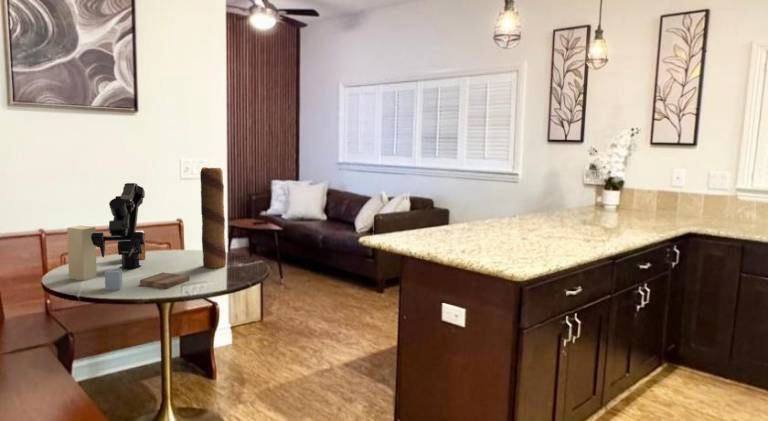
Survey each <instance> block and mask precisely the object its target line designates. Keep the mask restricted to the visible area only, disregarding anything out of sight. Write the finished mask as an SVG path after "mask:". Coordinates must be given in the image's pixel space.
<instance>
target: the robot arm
mask: <svg viewBox="0 0 768 421" xmlns="http://www.w3.org/2000/svg"><path fill="white" fill-rule="evenodd" d="M145 196H146V194H145V190H144V187H143V186H140V185H138V183H136V182H125V183H124V187H123V191H122V193H121V194H120V195H115V197H114V198H113V199H111V200H110V201H109V204H108V205H109V209H110V212H111V215H112V216H113V220H108V221H109V222H108V230H109V234H110V235H104V232H103V231H102V232H96V233H92V234H91V240H92V242H93V245H95V246H96V248H99V249H100V250H99V251H100V253H101V257H102V258H104V257H105V254H106V253H105V252H106V244H105V243H106V242H110V241H111V242H114V241H115V242H117V252H118V256H121V266H119V267H118V269H127V270H133V269H136V268H140V267H142V265H141V264H140V260H139V257H138V254H142V247H141V245H144V243H145V244H146V237H145V238H144V234H143V232H136V231H137V225H138V224H137V223H138V215H139V214H138V212H139V207H140V206H141V205H142V204H143V202H144V199H145ZM137 250H138V251H137Z"/></svg>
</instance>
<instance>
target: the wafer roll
mask: <svg viewBox="0 0 768 421" xmlns="http://www.w3.org/2000/svg"><path fill="white" fill-rule="evenodd" d="M223 175H224V174H223V170H222V168H221V167H201V169H200V175H199V176H200V201H201V202H200V210H201V213H200V214H201V222H202V224H201V225H202V226H201V245H202V246H201V248H202V249H201V250H202V264H203V267H204V268H207V269H221V268H223V267H225V266H226V265H227V252H226V241H225V240H226V238H225V228H226V227H225V226H226V224H225V223H226V222H225V221H226V218H225V206H224V205H225V203H224V195H225V193H224V192H225V191H224V188H225V185H224V178H223Z"/></svg>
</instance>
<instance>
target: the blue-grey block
mask: <svg viewBox="0 0 768 421" xmlns="http://www.w3.org/2000/svg"><path fill="white" fill-rule="evenodd" d="M104 284H105V286H104V288H105V289H104V290H105V291H120V290H121V289H122V287H123V268H108V269H107V270H106V271H104Z"/></svg>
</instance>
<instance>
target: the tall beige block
mask: <svg viewBox="0 0 768 421" xmlns="http://www.w3.org/2000/svg"><path fill="white" fill-rule="evenodd" d="M66 231H67V256H68V257H67V258H68V261H67V262H68V278H69V279H70V280H77V281H82V282H83V281H88V280H91V279H95V278H97V277H98V273H97V272H98V271H97V267H98V266H97V246H95V245H93V242H92V240H91V234H92V233H97V232H96V227H95V226H91V225H89V226H88V225H74V226H70V227H67V230H66Z"/></svg>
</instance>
